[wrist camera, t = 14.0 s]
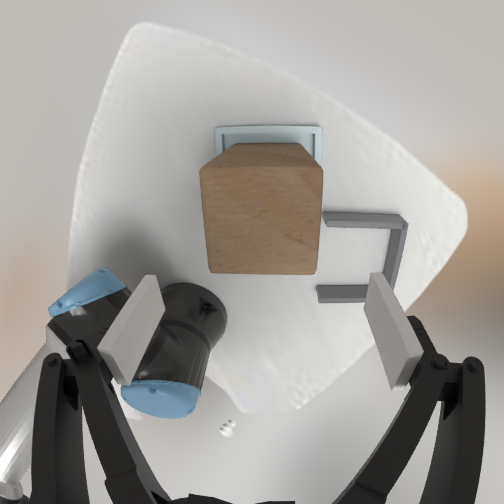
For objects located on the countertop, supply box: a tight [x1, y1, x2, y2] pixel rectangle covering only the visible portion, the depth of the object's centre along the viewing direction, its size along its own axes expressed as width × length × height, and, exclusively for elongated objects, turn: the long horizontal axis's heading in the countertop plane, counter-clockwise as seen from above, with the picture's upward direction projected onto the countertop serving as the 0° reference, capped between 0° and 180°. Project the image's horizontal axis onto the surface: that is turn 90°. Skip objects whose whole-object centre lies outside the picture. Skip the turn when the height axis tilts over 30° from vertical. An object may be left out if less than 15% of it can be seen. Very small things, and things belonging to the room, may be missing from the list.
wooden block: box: [199, 143, 323, 275], centre depth 32 cm, size 10×10×20 cm
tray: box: [214, 125, 322, 167], centre depth 40 cm, size 15×15×2 cm
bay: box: [316, 212, 408, 303], centre depth 45 cm, size 14×15×4 cm
